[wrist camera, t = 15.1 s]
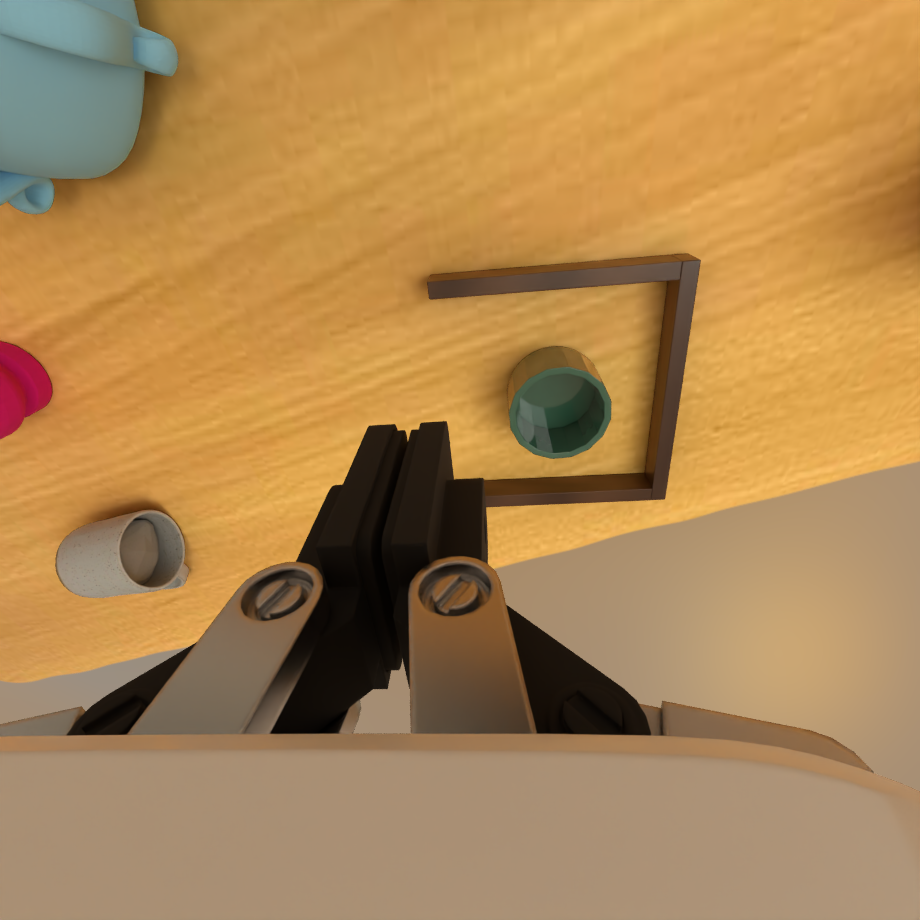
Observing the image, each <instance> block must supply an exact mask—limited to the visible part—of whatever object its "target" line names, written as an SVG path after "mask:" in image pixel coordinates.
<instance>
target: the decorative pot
mask: <svg viewBox="0 0 920 920" xmlns="http://www.w3.org/2000/svg"><path fill="white" fill-rule="evenodd" d="M177 66H178V54H177V51H176V48H175V46H174V44H173V42H172V41H171V40H170V39H168V38H166V37H164V36H162V35H160V34H158V33H155V32H153V31H150V30H148V29H145V28H143V27H140V24H139V20H138V15H137V11H136V6H135V2H134V0H0V206H1V205H2V204H4V203H6V202H7V201H8V202H9V203H10V204H11V205H12V206H13V207H15V208H16V209H18V210H20V211H22V212H24V213H28V214H41V213H45V212H47V211H48V210H49V209H50V208H51V206H52V204H53V200H54V195H55V190H54V185H53V182H52V181H51V179H50V178H55V179H93V178H96V177H100V176H104V175H106V174H108V173H109V172H111V171H113V170H114V169H116V168H117V167H119V166H120V165H121V164H122V163H123V162H124V160H125V159H126V158H127V157H128V155H129V153H130V151H131V149H132V148H133V145H134V142H135V139H136V136H137V133H138V129H139V124H140V119H141V114H142V107H143V97H144V75H145V71H148V72H152V73H156V74H160V75H164V76H173V75H174V73H175V72H176V69H177Z"/></svg>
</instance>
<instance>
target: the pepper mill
mask: <svg viewBox="0 0 920 920" xmlns="http://www.w3.org/2000/svg"><path fill="white" fill-rule="evenodd" d="M51 395H52V387H51V382H50V380H49V377H48V375H47V373H46V372H45V370H44V369H43V367H42V366H41V365H40V363H39V362H38V361H37V360H35V359H34V358H33V357H32V356H31V355H30V354H28V353H27V352H25V351H24V350H22V349H21V348H18V347H16V346H14V345H11V344H8V343H4V342H0V439H2V438H4V437H6V436H8V435H10V434H12V433H13V432H14V431H16V430H17V429H18V428H19V427H20V425H21V424H22V422H23V420H24V417H27V416H30V415H31V414H33V413H35V412H37V411H38V410H40V409H42V408H43V407H45V406H46V405H47V404H48V403H49V401H50V399H51Z"/></svg>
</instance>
